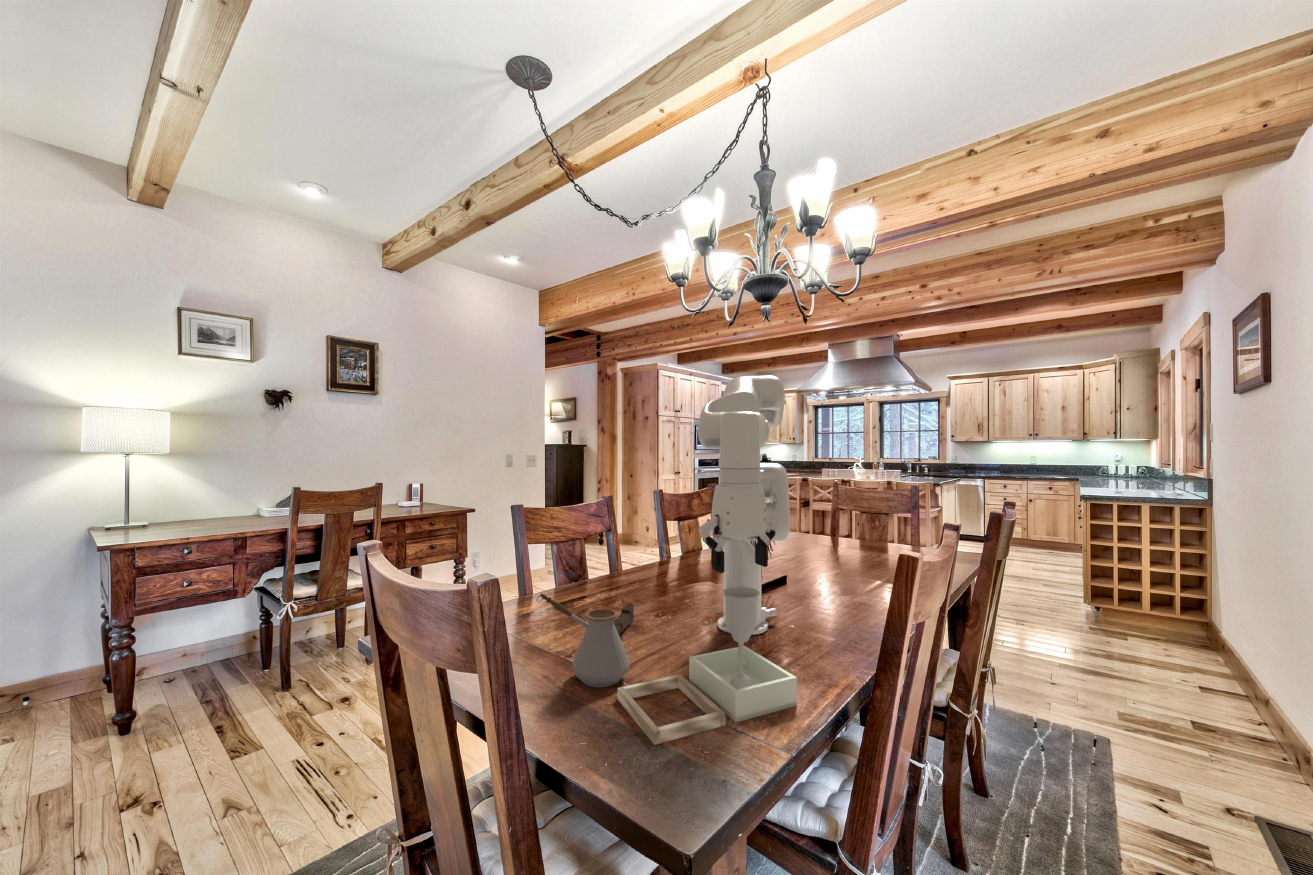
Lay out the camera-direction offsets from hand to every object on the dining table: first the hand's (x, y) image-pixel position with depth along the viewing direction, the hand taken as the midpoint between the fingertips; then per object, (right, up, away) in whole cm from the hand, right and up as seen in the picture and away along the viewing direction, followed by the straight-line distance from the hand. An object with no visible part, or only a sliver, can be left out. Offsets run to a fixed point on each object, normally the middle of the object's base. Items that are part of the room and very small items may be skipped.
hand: (740, 568), depth 97 cm
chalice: (0, -23, -1) cm, 23 cm away
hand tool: (-25, -24, +32) cm, 47 cm away
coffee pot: (-31, -24, +8) cm, 40 cm away
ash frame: (-14, -23, -7) cm, 28 cm away
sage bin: (0, -23, -1) cm, 23 cm away
